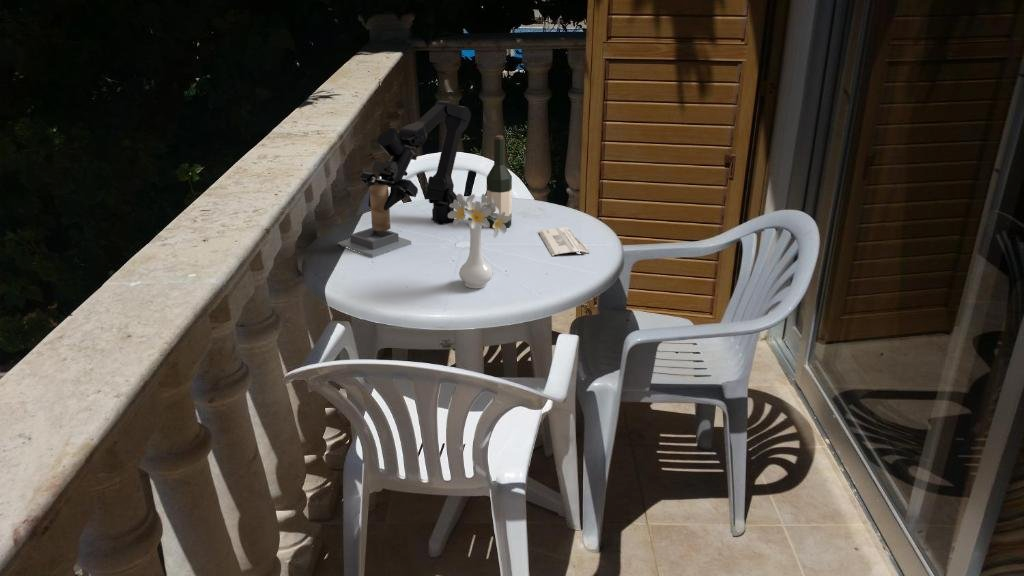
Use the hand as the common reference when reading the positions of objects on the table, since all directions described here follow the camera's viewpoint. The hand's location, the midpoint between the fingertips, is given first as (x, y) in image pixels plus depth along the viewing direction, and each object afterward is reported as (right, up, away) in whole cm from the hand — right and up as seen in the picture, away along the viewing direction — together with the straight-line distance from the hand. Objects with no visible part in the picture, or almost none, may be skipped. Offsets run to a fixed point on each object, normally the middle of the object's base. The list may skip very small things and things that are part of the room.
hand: (377, 208), depth 244 cm
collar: (-2, -10, +9) cm, 14 cm away
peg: (+1, -6, +4) cm, 7 cm away
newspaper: (+57, -10, +13) cm, 59 cm away
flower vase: (+31, -23, -19) cm, 43 cm away
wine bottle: (+36, -3, +28) cm, 46 cm away
